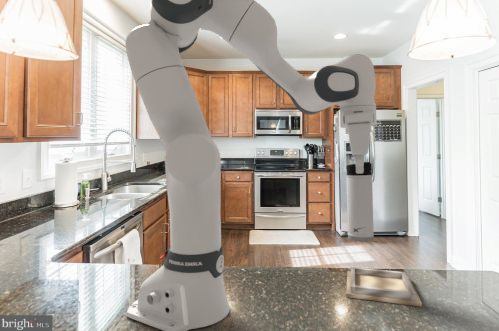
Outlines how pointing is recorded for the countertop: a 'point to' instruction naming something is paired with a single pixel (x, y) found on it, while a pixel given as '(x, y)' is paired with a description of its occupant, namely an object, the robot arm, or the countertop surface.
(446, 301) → the countertop surface
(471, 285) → the countertop surface
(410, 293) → the square metal tray
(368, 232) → the travel mug
